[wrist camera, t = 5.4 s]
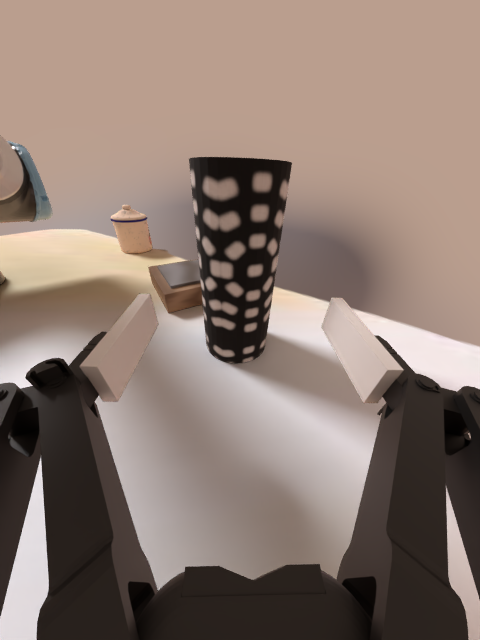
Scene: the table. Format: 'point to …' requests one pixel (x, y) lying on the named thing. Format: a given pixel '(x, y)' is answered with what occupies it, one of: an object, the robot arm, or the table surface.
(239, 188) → the white-spotted black cylinder
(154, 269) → the plinth
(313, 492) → the table surface
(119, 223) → the teacup with lid
